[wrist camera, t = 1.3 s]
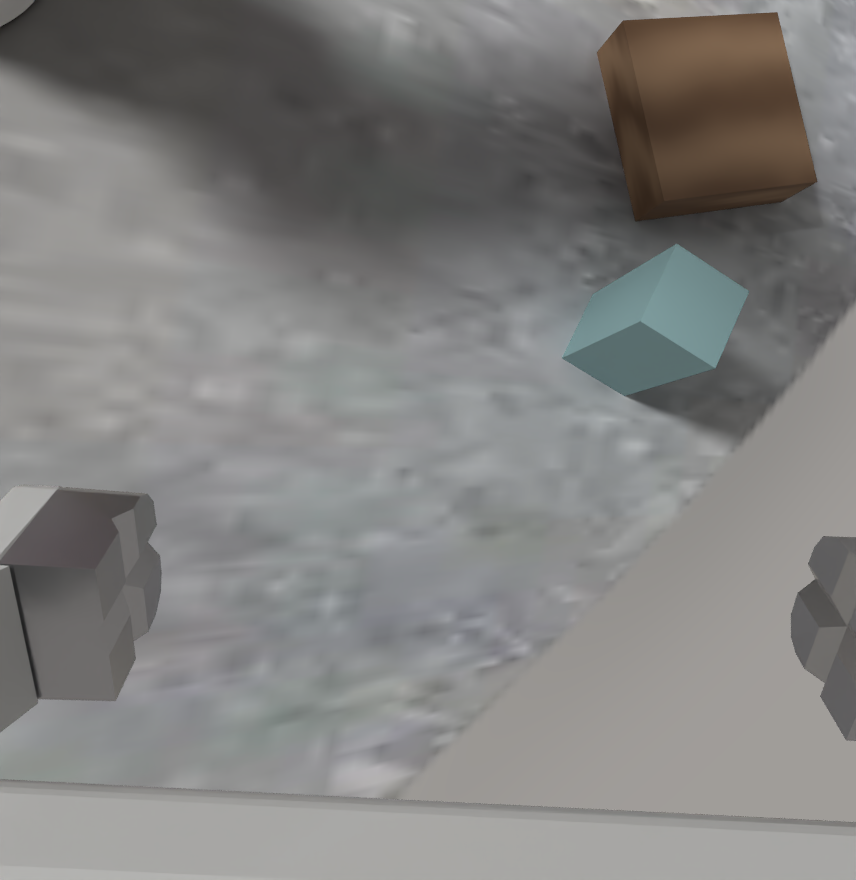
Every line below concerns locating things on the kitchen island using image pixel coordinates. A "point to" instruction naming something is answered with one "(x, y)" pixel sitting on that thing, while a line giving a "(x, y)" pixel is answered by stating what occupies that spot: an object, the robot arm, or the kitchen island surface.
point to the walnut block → (705, 113)
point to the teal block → (657, 323)
